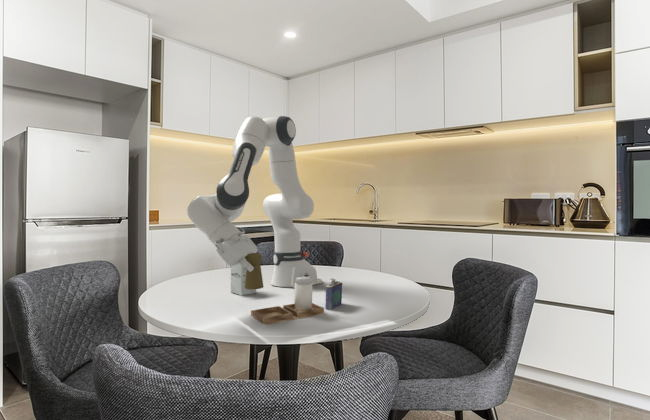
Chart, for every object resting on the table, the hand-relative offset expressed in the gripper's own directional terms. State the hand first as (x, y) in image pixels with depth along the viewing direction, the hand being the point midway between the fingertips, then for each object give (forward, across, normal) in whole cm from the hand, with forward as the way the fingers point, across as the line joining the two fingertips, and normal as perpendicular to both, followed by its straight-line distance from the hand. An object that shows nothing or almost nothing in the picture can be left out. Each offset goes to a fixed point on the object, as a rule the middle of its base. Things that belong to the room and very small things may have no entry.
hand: (255, 268), depth 129 cm
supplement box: (+1, +26, +21) cm, 33 cm away
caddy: (+18, -4, +2) cm, 19 cm away
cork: (+4, 0, +5) cm, 6 cm away
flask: (+28, +7, -6) cm, 29 cm away
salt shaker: (+20, 0, -2) cm, 20 cm away
